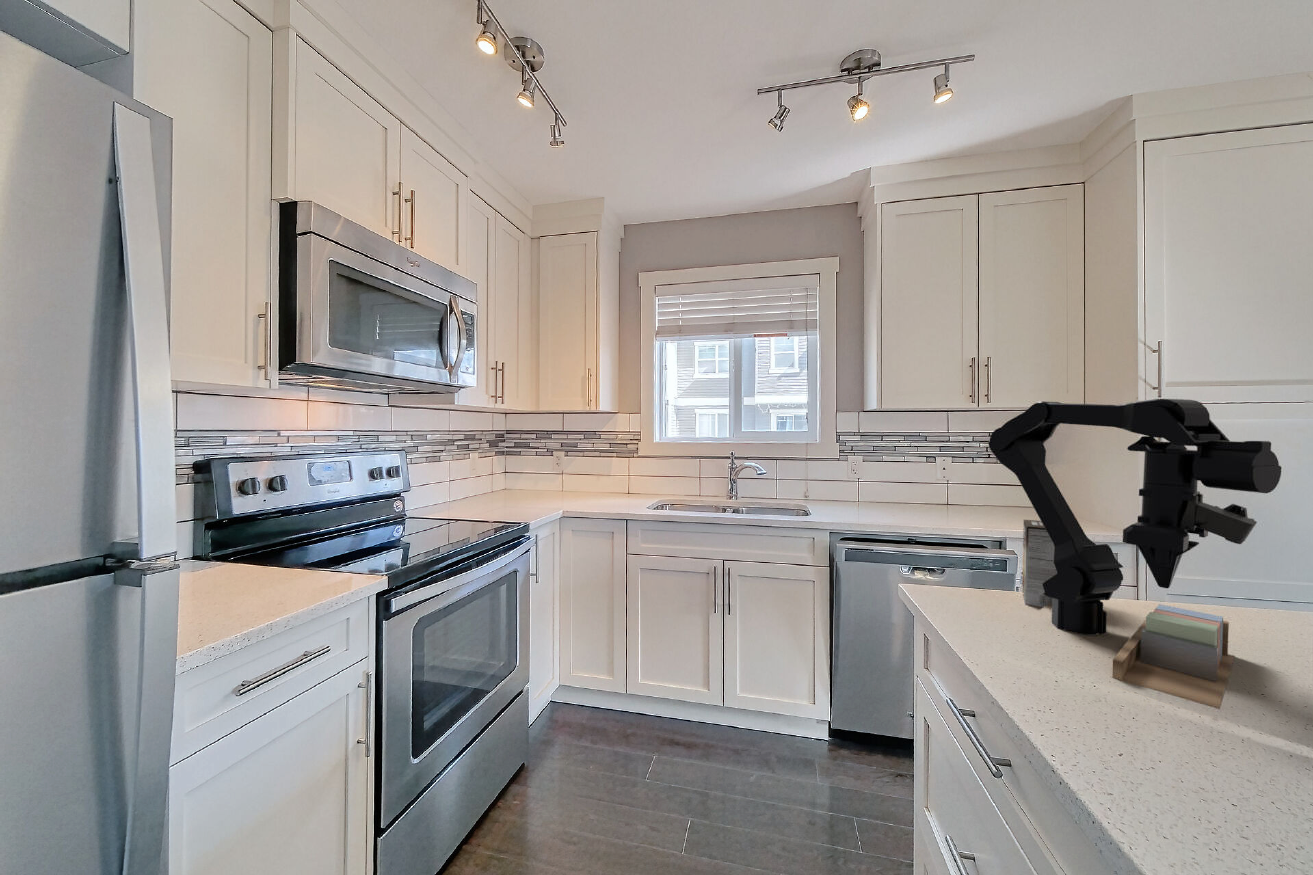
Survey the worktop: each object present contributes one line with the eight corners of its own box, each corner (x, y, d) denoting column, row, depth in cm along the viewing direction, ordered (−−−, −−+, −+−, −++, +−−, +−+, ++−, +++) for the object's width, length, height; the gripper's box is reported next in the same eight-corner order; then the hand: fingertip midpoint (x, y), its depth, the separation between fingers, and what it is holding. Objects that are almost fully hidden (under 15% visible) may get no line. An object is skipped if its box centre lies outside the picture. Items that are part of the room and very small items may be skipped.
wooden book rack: (1218, 716, 63) (1220, 668, 63) (1112, 684, 71) (1113, 641, 71) (1234, 662, 78) (1235, 623, 78) (1144, 640, 86) (1145, 604, 86)
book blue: (1219, 662, 76) (1220, 622, 76) (1154, 646, 82) (1155, 608, 81) (1222, 655, 78) (1223, 616, 78) (1158, 640, 84) (1159, 604, 84)
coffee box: (1020, 592, 111) (1022, 518, 111) (1058, 597, 108) (1060, 521, 108) (1024, 604, 103) (1026, 525, 103) (1064, 611, 100) (1066, 528, 100)
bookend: (1216, 681, 70) (1217, 649, 70) (1140, 661, 76) (1141, 631, 76) (1217, 678, 71) (1218, 646, 71) (1142, 658, 77) (1142, 628, 77)
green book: (1213, 678, 71) (1215, 631, 71) (1144, 660, 77) (1145, 616, 76) (1216, 670, 73) (1217, 625, 73) (1148, 653, 79) (1150, 611, 79)
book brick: (1217, 669, 74) (1218, 628, 74) (1150, 652, 79) (1151, 614, 79) (1219, 662, 76) (1220, 622, 76) (1154, 646, 81) (1155, 609, 81)
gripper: (1241, 495, 64) (1234, 618, 65) (1261, 485, 75) (1254, 591, 76) (1124, 485, 73) (1118, 593, 74) (1156, 477, 84) (1151, 572, 85)
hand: (1164, 587), depth 77 cm, fingers closed
